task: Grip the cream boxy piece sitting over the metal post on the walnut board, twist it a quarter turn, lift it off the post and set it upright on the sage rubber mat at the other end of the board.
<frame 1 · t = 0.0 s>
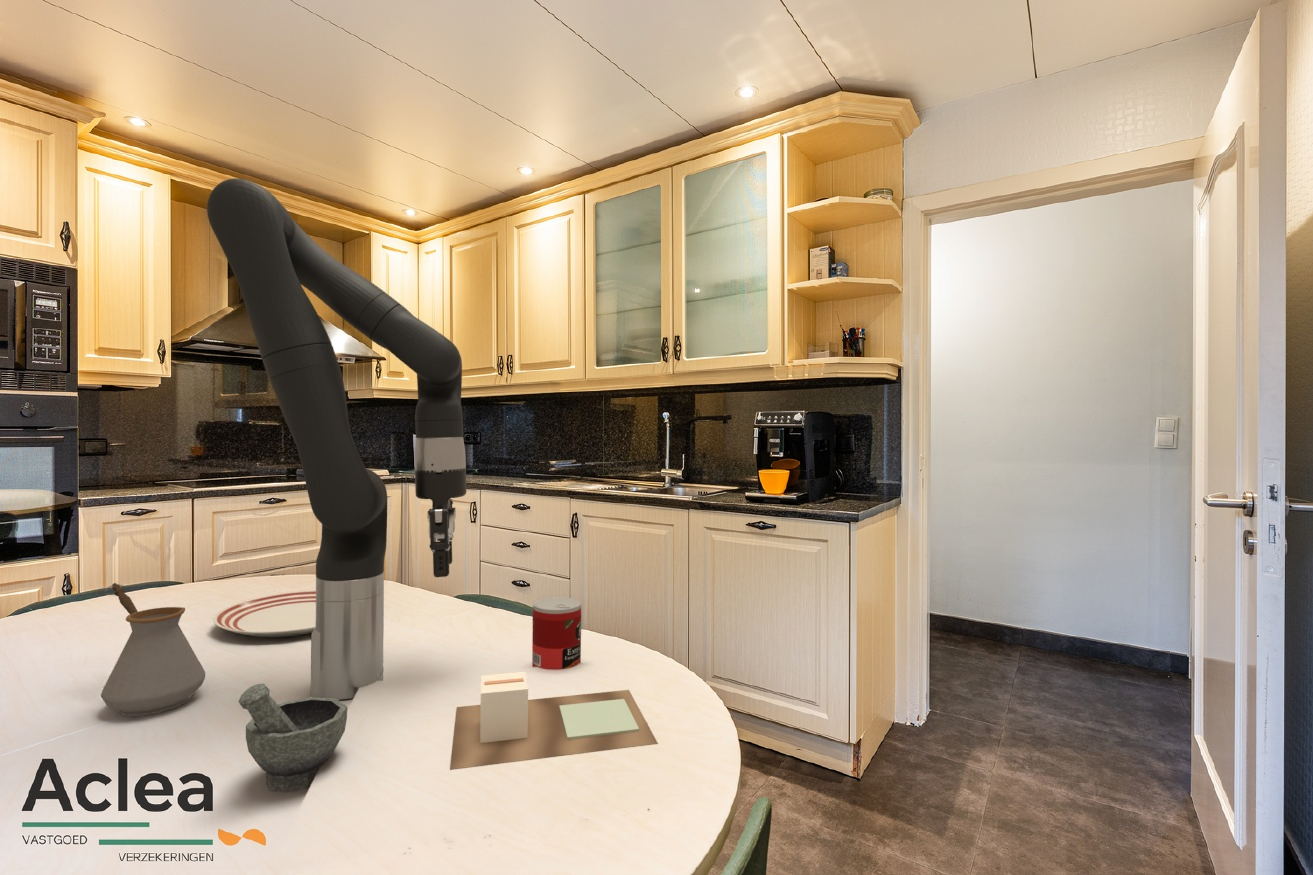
hand: (443, 570, 97), 17 cm above the table, tool pointing down, fingers open, 8 cm apart
mortar and pestle: (292, 781, 69), on the table
mat: (597, 718, 81), resting on post board
coffee pot: (141, 696, 90), on the table
canned food: (556, 670, 102), on the table
post board: (551, 735, 80), on the table
dinner plate: (296, 624, 125), on the table
cream boxy piece: (503, 729, 78), point 1 cm above the table, touching post board
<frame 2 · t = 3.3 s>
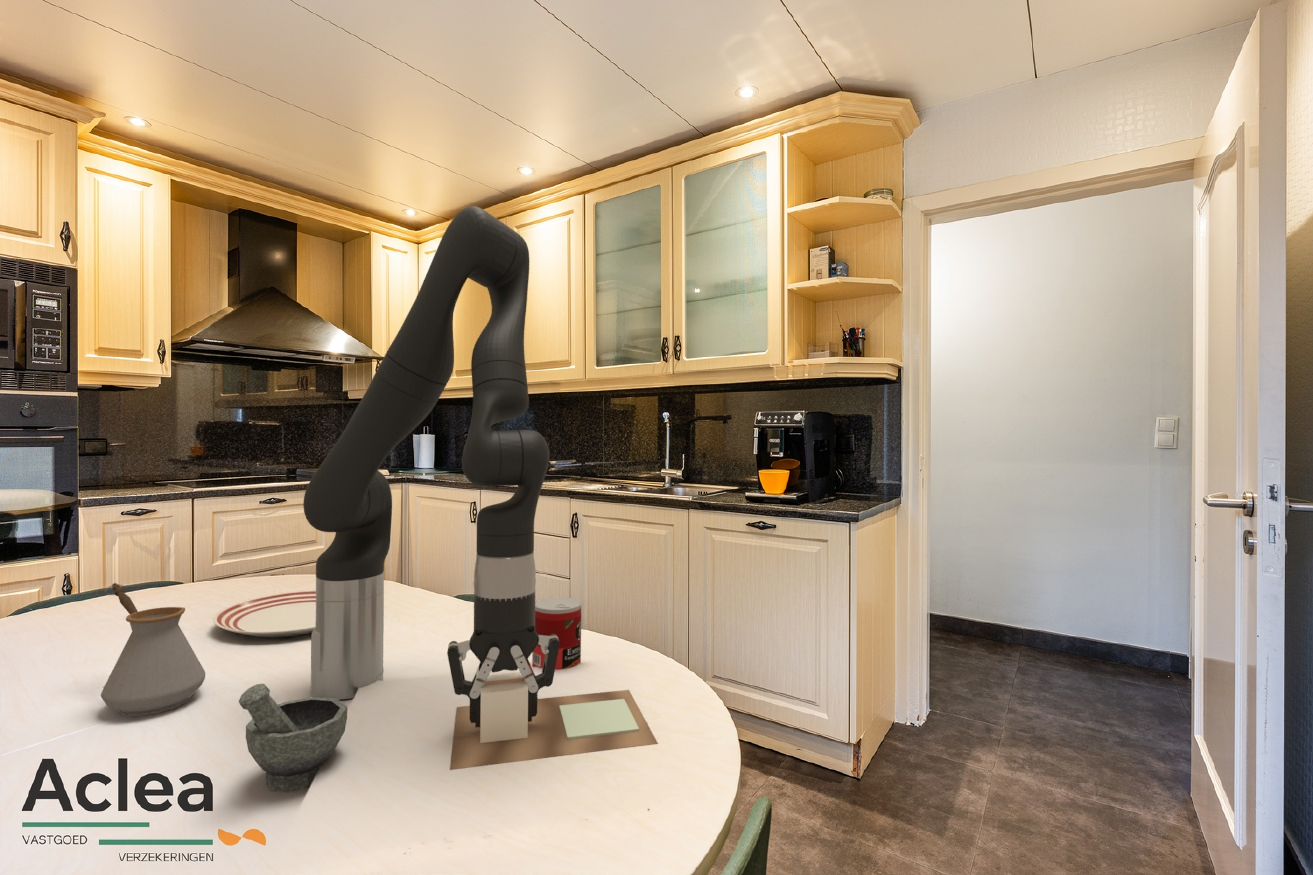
hand: (503, 721, 78), 3 cm above the table, tool pointing down, fingers closed on cream boxy piece, 5 cm apart
cream boxy piece: (503, 729, 78), point 2 cm above the table, touching gripper, post board
everything else where it was.
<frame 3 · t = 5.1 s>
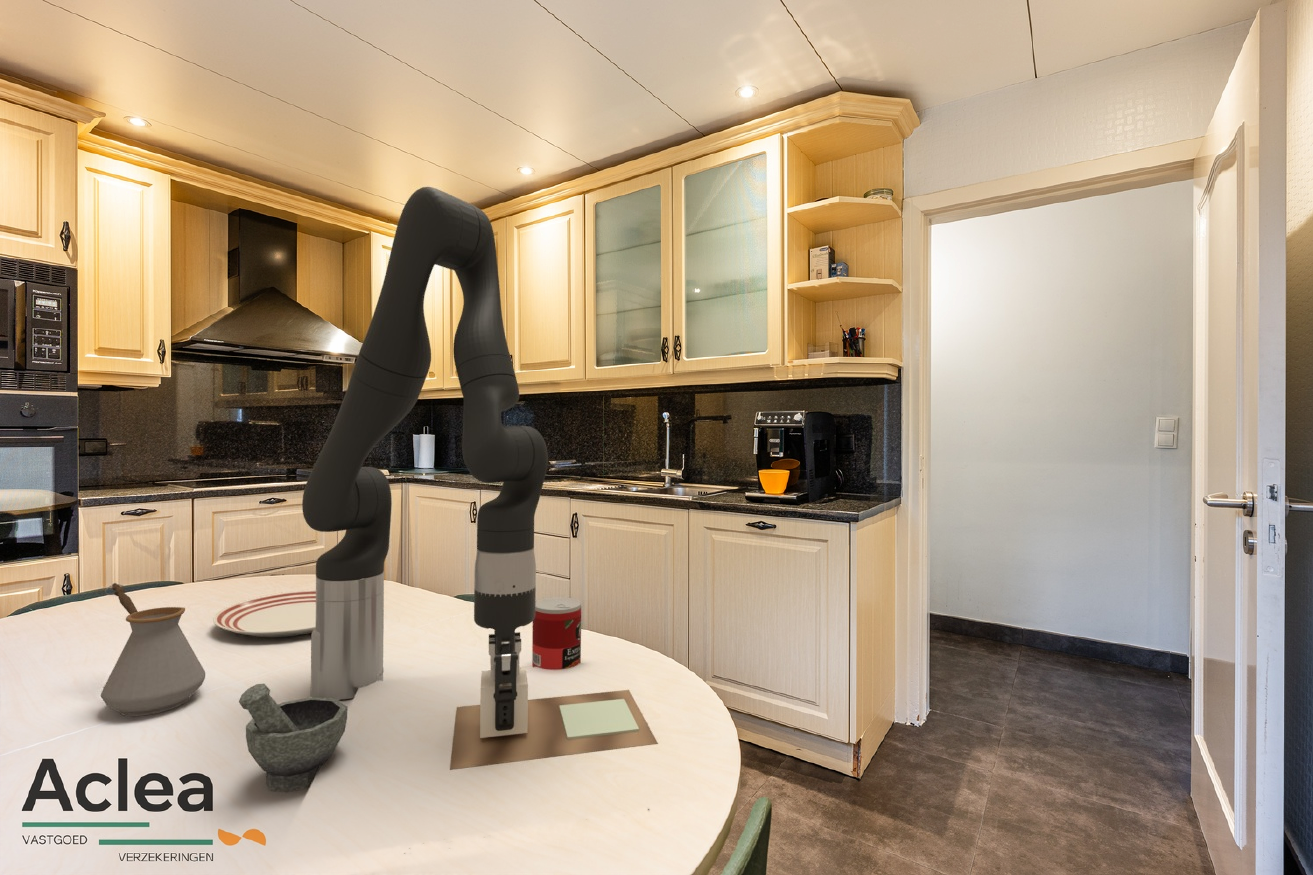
hand: (503, 716, 78), 3 cm above the table, tool pointing down, fingers closed on cream boxy piece, 5 cm apart
cream boxy piece: (503, 724, 78), point 2 cm above the table, touching gripper
everything else where it was.
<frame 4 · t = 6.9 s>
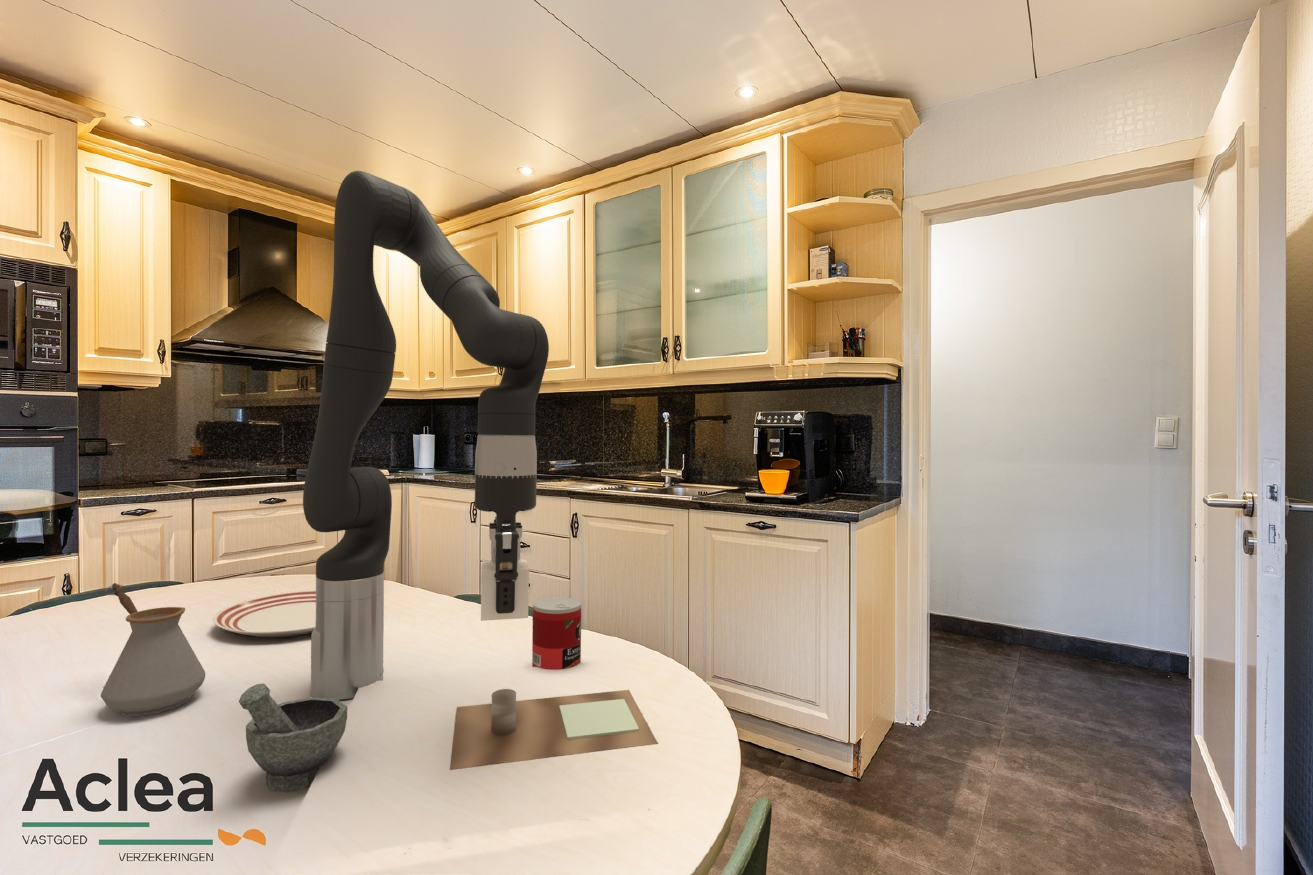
hand: (504, 604, 78), 17 cm above the table, tool pointing down, fingers closed on cream boxy piece, 5 cm apart
cream boxy piece: (504, 612, 78), point 16 cm above the table, touching gripper
everything else where it was.
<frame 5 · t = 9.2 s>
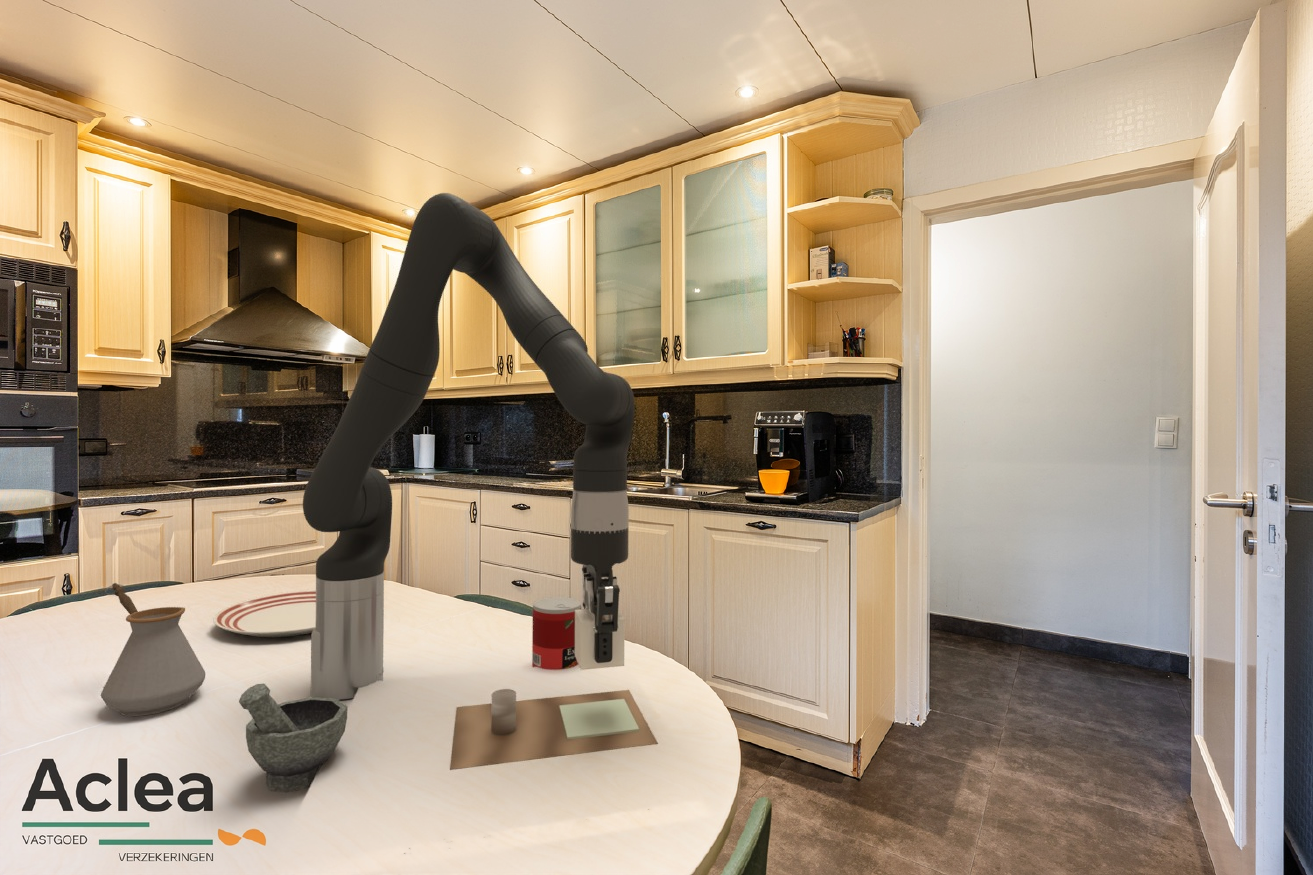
hand: (598, 652, 81), 10 cm above the table, tool pointing down, fingers closed on cream boxy piece, 5 cm apart
cream boxy piece: (598, 659, 81), point 9 cm above the table, touching gripper
everything else where it was.
when the fingers open (4 cm above the table, at t = 10.9 s): cream boxy piece drops 1 cm, resting on mat.
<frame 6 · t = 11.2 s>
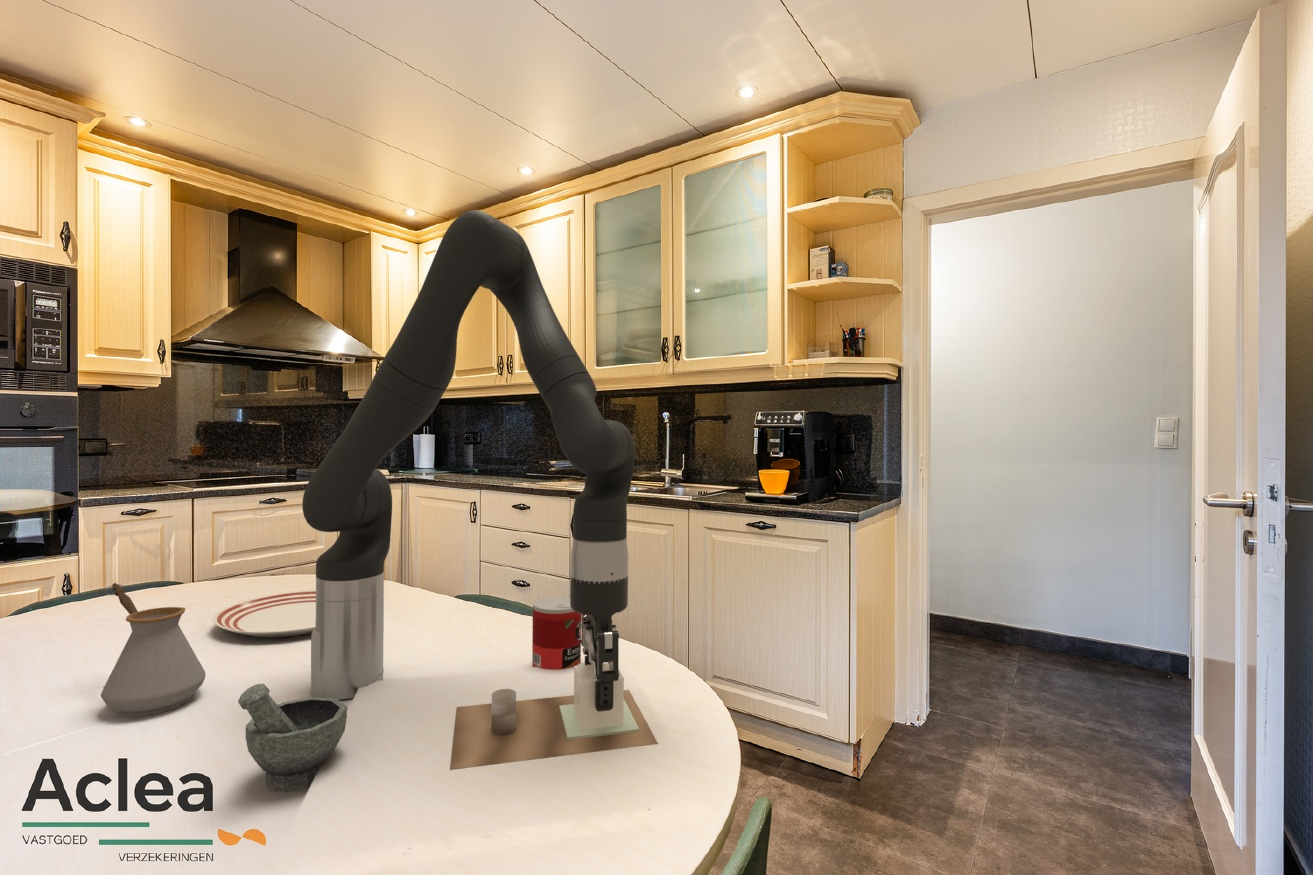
hand: (597, 695, 81), 5 cm above the table, tool pointing down, fingers open, 8 cm apart
cream boxy piece: (597, 717, 81), point 2 cm above the table, touching mat
everything else where it was.
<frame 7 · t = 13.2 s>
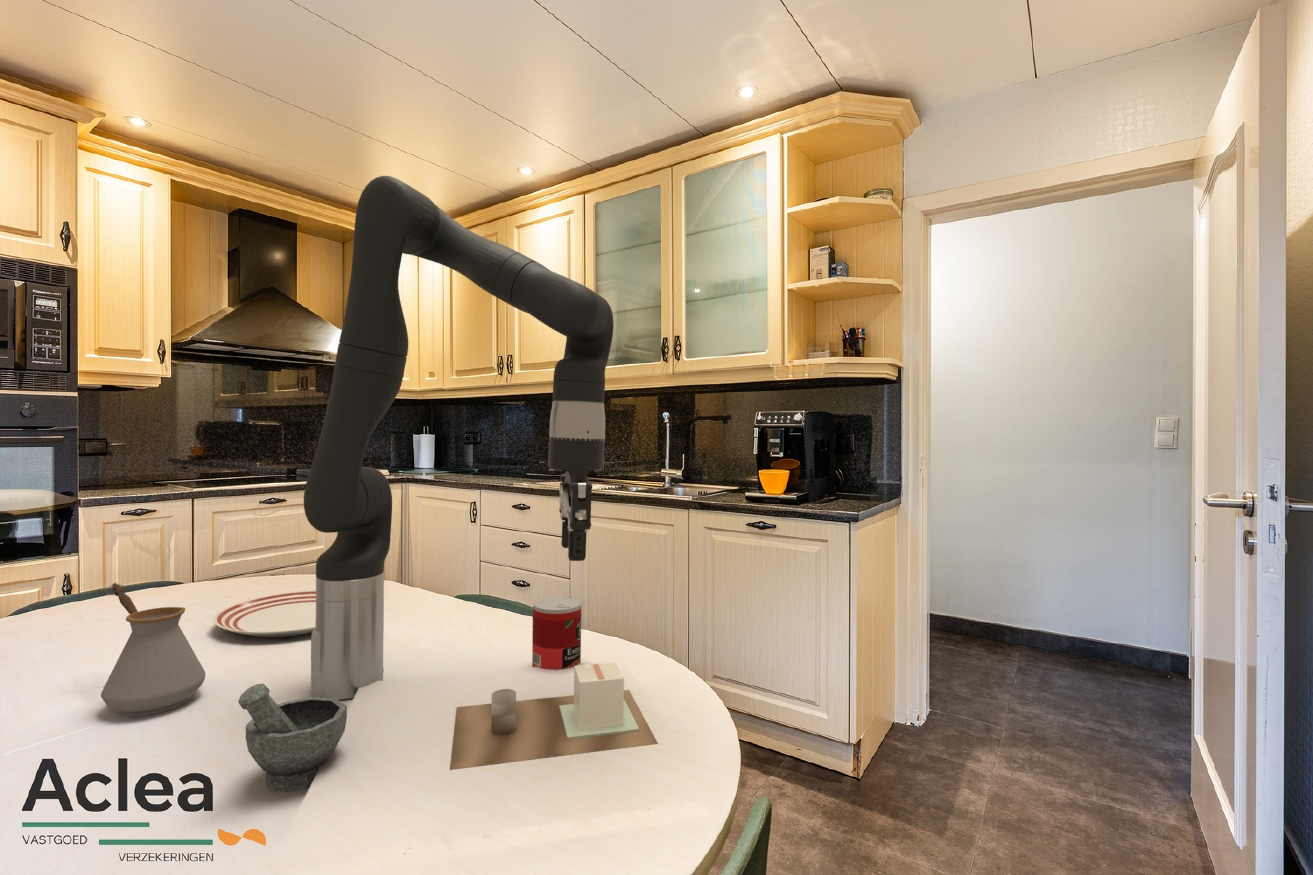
hand: (572, 553, 85), 22 cm above the table, tool pointing down, fingers open, 8 cm apart
nothing on the table moved.
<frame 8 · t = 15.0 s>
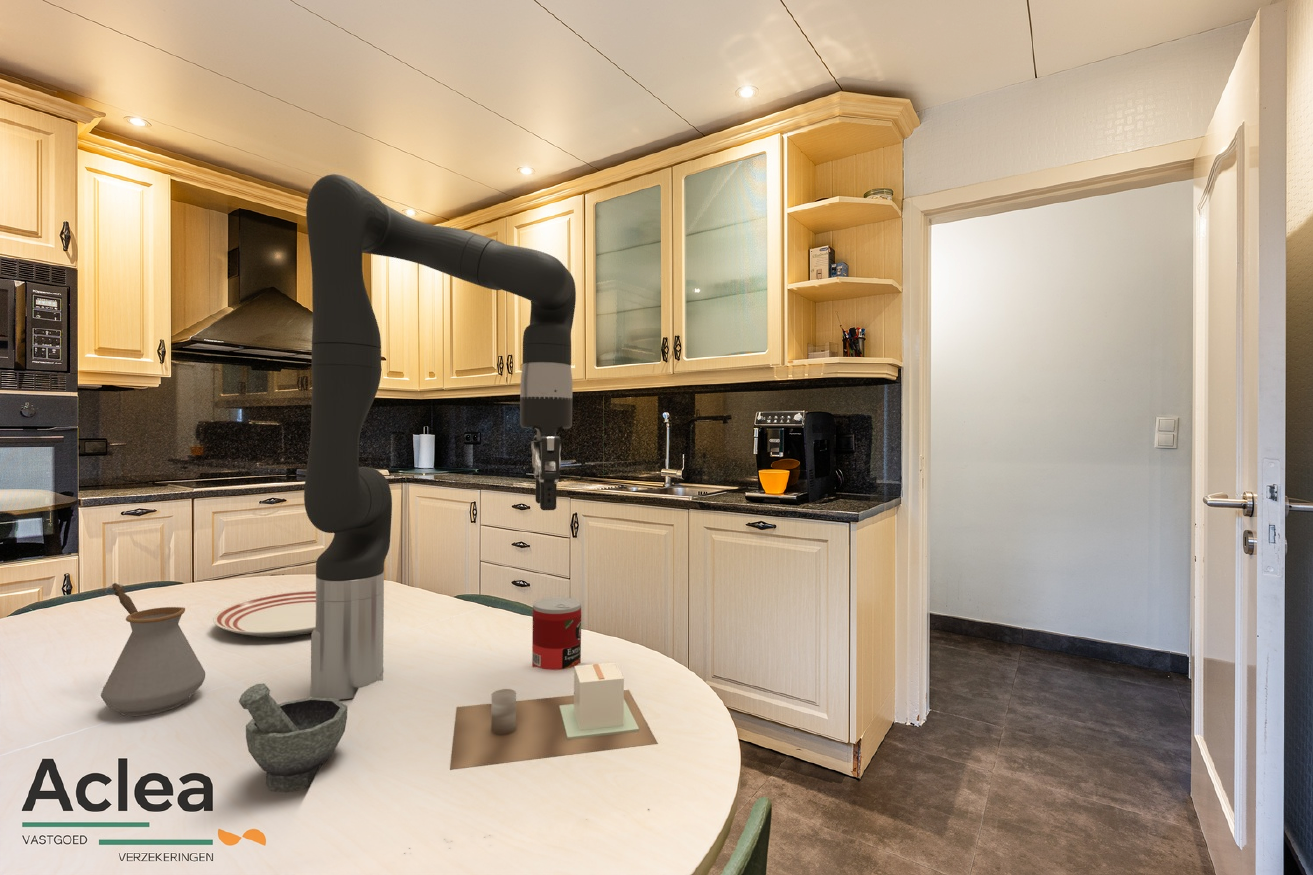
hand: (545, 506, 91), 28 cm above the table, tool pointing down, fingers open, 8 cm apart
nothing on the table moved.
at the end: cream boxy piece inside the target area on the mat (0.3 cm from its centre), point 0.3 cm above the mat's base; cream boxy piece tilted 0°; the gripper is holding nothing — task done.
